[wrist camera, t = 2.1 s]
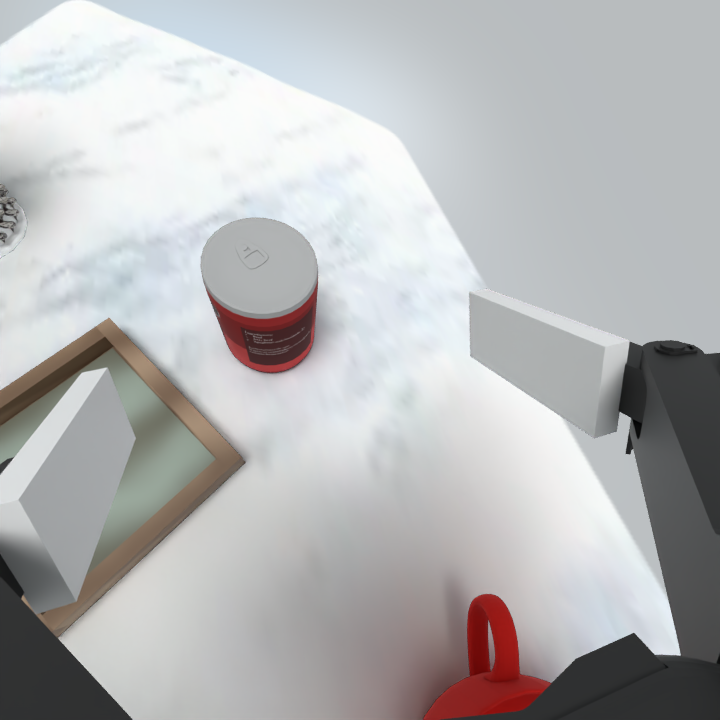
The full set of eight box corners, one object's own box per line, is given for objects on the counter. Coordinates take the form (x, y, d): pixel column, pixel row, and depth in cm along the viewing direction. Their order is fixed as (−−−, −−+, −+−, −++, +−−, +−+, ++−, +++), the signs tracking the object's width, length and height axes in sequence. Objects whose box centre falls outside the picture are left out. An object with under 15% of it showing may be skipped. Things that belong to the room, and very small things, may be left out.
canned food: (258, 284, 40) (244, 198, 30) (330, 325, 39) (340, 252, 29) (207, 345, 37) (172, 273, 27) (283, 391, 36) (277, 335, 26)
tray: (-75, 465, 31) (-104, 460, 28) (120, 331, 36) (109, 317, 34) (55, 639, 28) (34, 647, 25) (245, 462, 34) (241, 457, 31)
